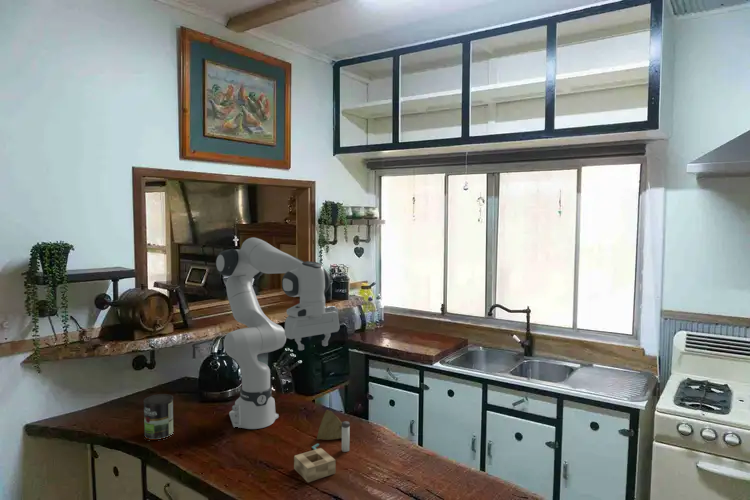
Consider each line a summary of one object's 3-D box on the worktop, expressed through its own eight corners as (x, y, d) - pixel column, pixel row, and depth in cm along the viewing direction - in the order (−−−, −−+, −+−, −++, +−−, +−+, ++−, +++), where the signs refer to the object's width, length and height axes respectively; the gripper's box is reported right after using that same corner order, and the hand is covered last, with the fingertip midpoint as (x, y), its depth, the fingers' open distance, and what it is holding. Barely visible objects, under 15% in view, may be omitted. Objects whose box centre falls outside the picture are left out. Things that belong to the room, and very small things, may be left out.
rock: (353, 428, 190) (332, 419, 195) (348, 416, 184) (327, 407, 189) (339, 453, 183) (317, 443, 188) (333, 441, 178) (311, 431, 183)
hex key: (310, 446, 179) (310, 445, 179) (318, 444, 181) (318, 443, 181) (325, 459, 170) (325, 457, 170) (333, 456, 172) (333, 455, 172)
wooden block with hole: (294, 468, 164) (294, 455, 163) (320, 460, 169) (321, 447, 169) (307, 482, 155) (307, 468, 155) (335, 473, 161) (335, 460, 161)
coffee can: (157, 443, 181) (157, 405, 180) (138, 437, 185) (137, 400, 184) (179, 432, 190) (179, 396, 189) (160, 427, 194) (159, 392, 193)
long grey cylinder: (340, 449, 178) (340, 422, 177) (346, 447, 179) (347, 420, 178) (344, 452, 175) (344, 425, 174) (350, 450, 177) (351, 423, 176)
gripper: (333, 304, 181) (333, 341, 181) (282, 310, 169) (282, 350, 169) (342, 306, 176) (343, 344, 176) (290, 313, 163) (291, 354, 164)
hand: (313, 347), depth 173 cm, fingers open, 8 cm apart
